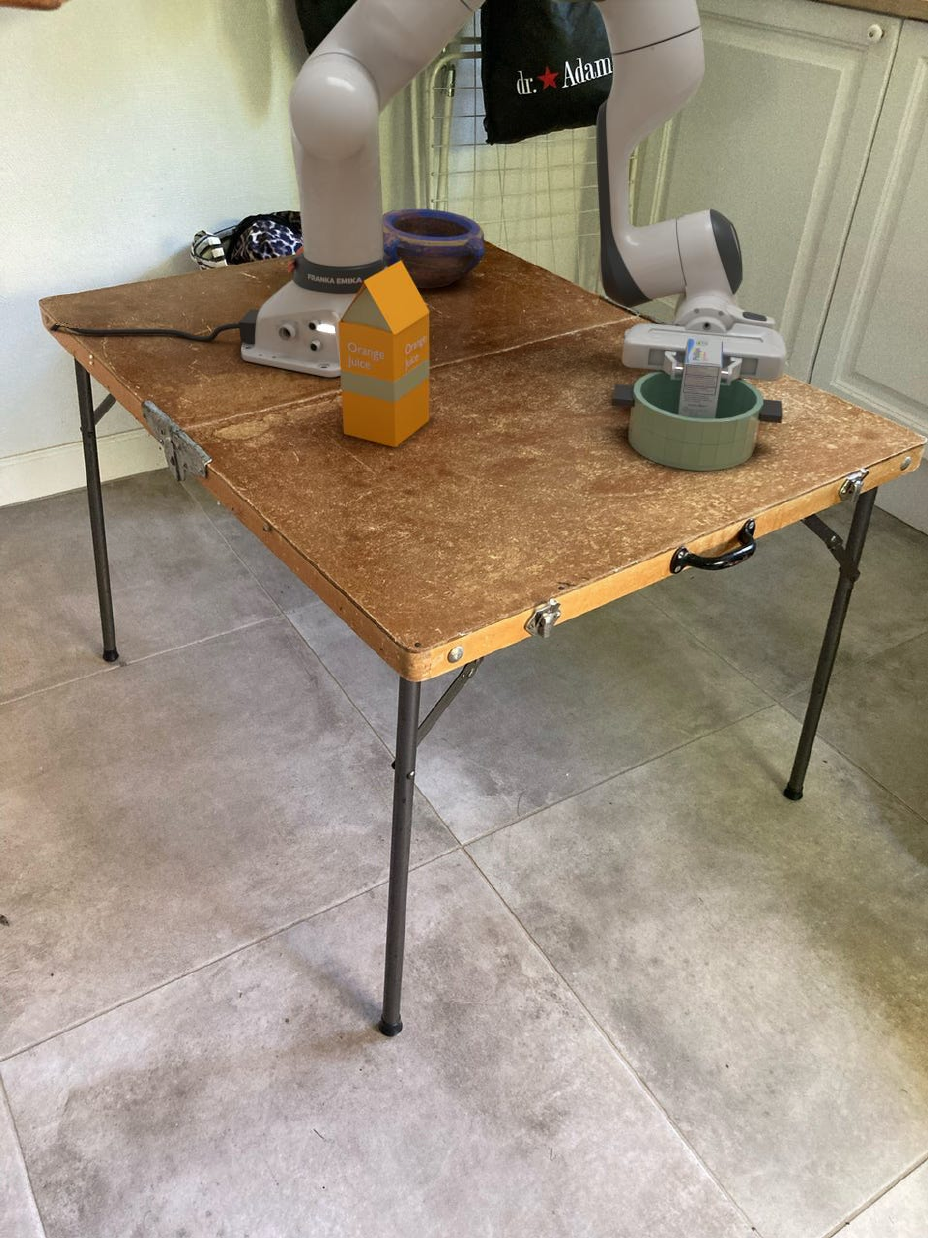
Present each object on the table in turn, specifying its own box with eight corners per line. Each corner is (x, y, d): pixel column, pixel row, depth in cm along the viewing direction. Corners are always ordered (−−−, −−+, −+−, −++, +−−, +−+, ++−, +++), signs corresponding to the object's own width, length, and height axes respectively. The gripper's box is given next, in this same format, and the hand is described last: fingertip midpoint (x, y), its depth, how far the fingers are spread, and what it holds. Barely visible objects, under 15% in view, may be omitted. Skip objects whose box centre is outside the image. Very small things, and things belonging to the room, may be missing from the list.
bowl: (485, 298, 175) (486, 236, 169) (374, 297, 174) (373, 235, 168) (481, 263, 189) (483, 205, 183) (379, 262, 189) (378, 203, 183)
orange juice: (342, 433, 134) (334, 275, 122) (378, 407, 141) (374, 254, 129) (396, 447, 131) (393, 287, 120) (430, 420, 138) (431, 265, 126)
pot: (622, 462, 129) (628, 413, 126) (633, 408, 142) (639, 362, 138) (753, 477, 127) (763, 427, 123) (753, 421, 139) (762, 374, 135)
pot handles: (611, 405, 131) (612, 397, 131) (615, 391, 135) (615, 383, 134) (781, 423, 128) (782, 415, 128) (780, 408, 132) (781, 400, 131)
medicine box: (712, 432, 129) (724, 365, 124) (675, 429, 130) (685, 361, 124) (713, 405, 135) (724, 339, 130) (678, 401, 136) (687, 336, 131)
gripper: (628, 304, 141) (618, 344, 130) (787, 319, 137) (790, 360, 126) (623, 350, 144) (613, 392, 133) (778, 365, 141) (780, 409, 130)
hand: (701, 377), depth 130 cm, fingers closed on medicine box, 4 cm apart
